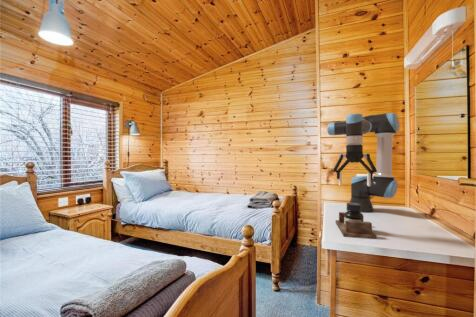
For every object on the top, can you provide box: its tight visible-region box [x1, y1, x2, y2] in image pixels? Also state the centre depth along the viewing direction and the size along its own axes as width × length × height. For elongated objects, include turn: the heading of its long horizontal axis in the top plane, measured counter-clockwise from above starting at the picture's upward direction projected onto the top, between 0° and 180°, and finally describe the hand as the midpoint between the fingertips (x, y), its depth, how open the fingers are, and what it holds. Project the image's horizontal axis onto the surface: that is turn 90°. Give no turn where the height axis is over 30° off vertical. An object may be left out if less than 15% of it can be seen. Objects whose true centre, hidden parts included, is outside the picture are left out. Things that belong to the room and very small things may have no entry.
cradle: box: [335, 211, 377, 240], centre depth 120 cm, size 14×22×6 cm, turn 167°
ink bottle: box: [344, 201, 365, 226], centre depth 120 cm, size 10×9×12 cm
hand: (354, 185), depth 120 cm, fingers open, 13 cm apart
